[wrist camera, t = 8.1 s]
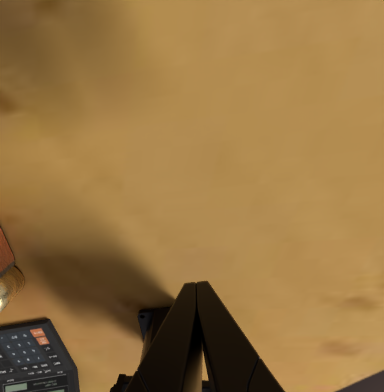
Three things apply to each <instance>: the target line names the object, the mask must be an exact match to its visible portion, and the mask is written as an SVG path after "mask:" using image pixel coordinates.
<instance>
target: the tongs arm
mask: <svg viewBox="0 0 384 392" xmlns="http://www.w3.org/2000/svg"><path fill="white" fill-rule="evenodd" d="M14 260H15V258H14V256H13V254H12V252H11V250H10V247H9V245H8V243H7V241H6V239H5V236H4V234H3V232H2V230H1V228H0V312H1V311H2V310H3V309H4V308H5V307H6V306H7V304H8V303H9V302H10V301H11V300H12V299H13V298H14V297H15V296H16V295H17V293H18V292H19V291H20V290H21V289H22V288H23V286H24V283H25V282H24V277H23V275H22V274H21V272H20V271H19V270H18V269H16V268H15V267H13V266H14V265H15V262H14Z"/></svg>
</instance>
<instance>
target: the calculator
mask: <svg viewBox="0 0 384 392" xmlns="http://www.w3.org/2000/svg"><path fill="white" fill-rule="evenodd" d="M0 392H80V389H79V380H78V371H77V367H76V365H75V363H74V362H73V360H72V358H71V356H70V354H69V353H68V351H67V349H66V347H65V345H64V344H63V342H62V340H61V338H60V337H59V335H58V333H57V331H56V329H55V328H54V326H53V324H52V322H51V320H50V319H45V320H39V321H33V322H27V323H21V324H15V325H9V326H3V327H0Z"/></svg>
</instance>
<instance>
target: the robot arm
mask: <svg viewBox="0 0 384 392" xmlns="http://www.w3.org/2000/svg"><path fill="white" fill-rule="evenodd" d="M138 321H139V324H140V328H141V332H142V335H143V339H144V344H143V350H142V355H141V360H140V365H139V367H138V369H137V370H138V371H136V372H135V373H134V375H133V376H126V374H119V377H118V380H117V383H116V384H114V386H113V387H112V388H111V389H110V392H285V391H284V390H283V388H282V387H281V386H280V384H279V383H278V381H277V380H276V379H275V377H274V376H273V375H272V373H271V372H270V370H269V369H268V368H267V366H266V365H265V363H264V362H263V360H262V359H260V356H259V355H258V353H257V352H256V350H255V349H254V348H253V346H252V345H251V343H250V342H249V340H248V339H247V337H246V336H245V334H244V333H243V332H242V330H241V329H240V327H239V326H238V324H237V323H236V321H235V320H234V318H233V317H232V316H231V314H230V313H229V311H228V310H227V308H226V307H225V305H224V304H223V303H222V301H221V300H220V298H219V297H218V295H217V294H216V292H215V291H214V289H213V288H212V287H211V285H210V284H209V282H208V281H200V282H197V283H195V282H191V283H185V284H184V285H183V287H182V289H181V291H180V293H179V294H178V296H177V298H176V300H175V302H174V303H173V305H172V307H166V308H156V309H147V310H140V311H139V312H138ZM203 352H204V358H205V363H206V368H207V374H208V379H209V381H205V380H202V360H203Z"/></svg>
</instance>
